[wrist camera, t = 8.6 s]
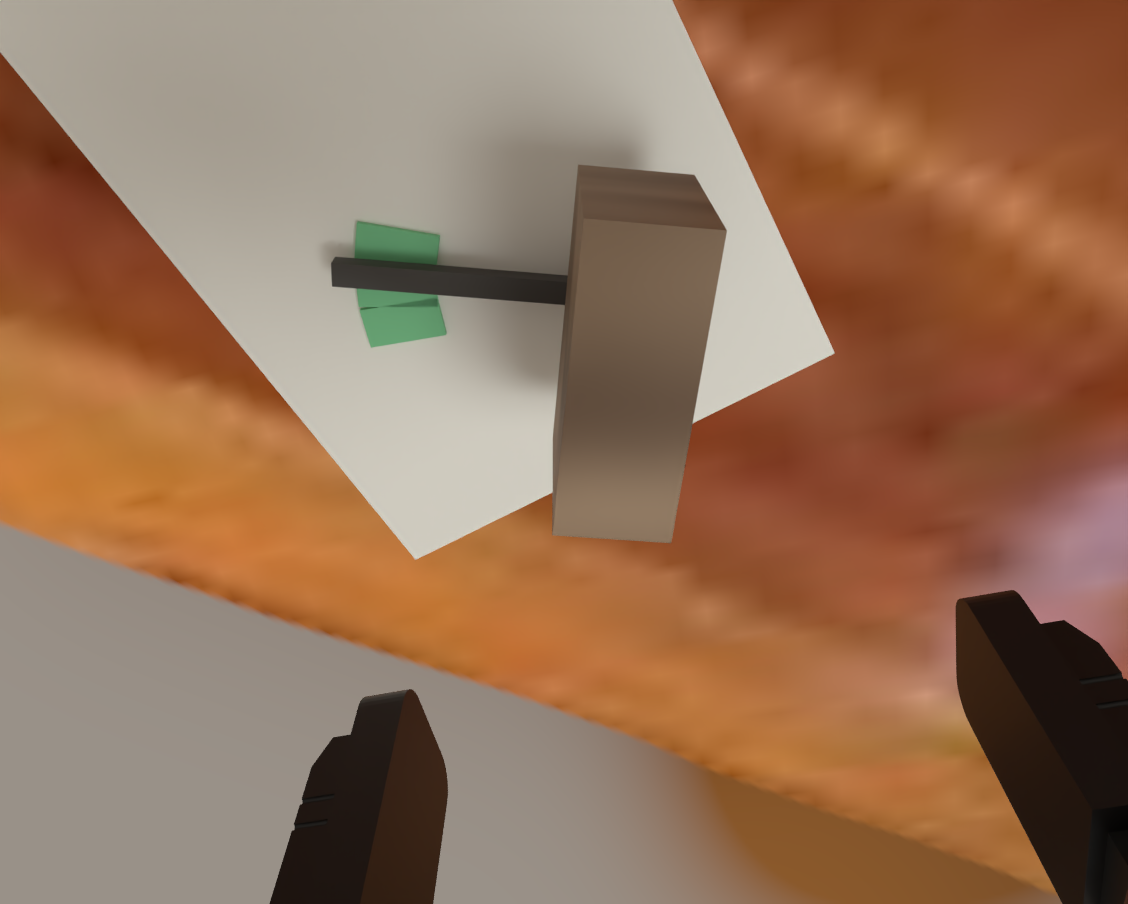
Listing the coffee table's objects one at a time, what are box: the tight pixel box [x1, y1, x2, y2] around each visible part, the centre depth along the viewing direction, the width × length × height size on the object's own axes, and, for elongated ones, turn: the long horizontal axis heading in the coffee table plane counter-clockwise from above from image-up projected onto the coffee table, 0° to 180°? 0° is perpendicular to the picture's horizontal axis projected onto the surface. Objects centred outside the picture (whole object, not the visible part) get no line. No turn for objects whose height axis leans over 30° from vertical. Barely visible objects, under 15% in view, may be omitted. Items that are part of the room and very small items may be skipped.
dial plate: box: [0, 0, 834, 559], centre depth 26 cm, size 16×23×2 cm
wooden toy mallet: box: [331, 165, 727, 543], centre depth 24 cm, size 8×10×7 cm
